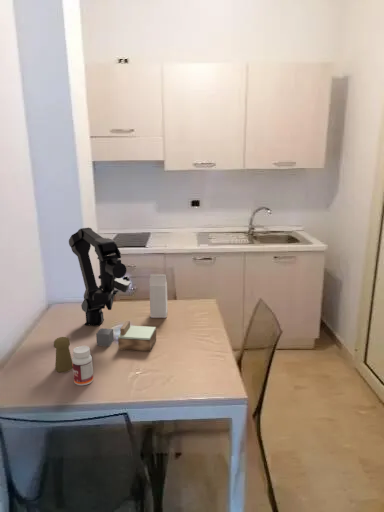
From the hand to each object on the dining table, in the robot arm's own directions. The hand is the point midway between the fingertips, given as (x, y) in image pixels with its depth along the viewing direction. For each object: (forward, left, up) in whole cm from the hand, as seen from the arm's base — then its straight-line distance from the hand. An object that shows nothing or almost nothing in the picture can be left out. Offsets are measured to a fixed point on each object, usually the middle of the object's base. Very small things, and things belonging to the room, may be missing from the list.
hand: (109, 309), depth 163 cm
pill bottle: (+3, -34, -11) cm, 36 cm away
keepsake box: (+13, -7, -11) cm, 18 cm away
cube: (0, -7, -11) cm, 13 cm away
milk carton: (+15, +23, -11) cm, 29 cm away
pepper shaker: (-7, -27, -11) cm, 30 cm away
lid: (+13, -7, -6) cm, 16 cm away
